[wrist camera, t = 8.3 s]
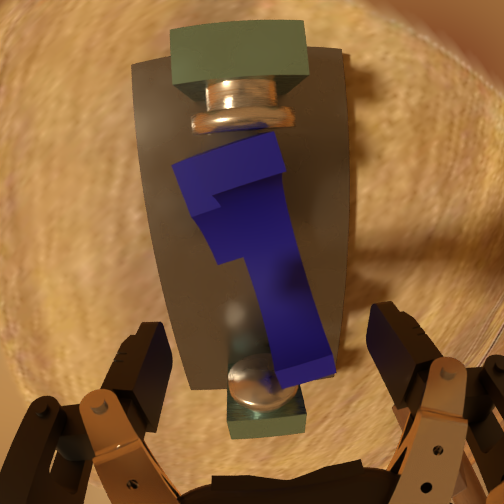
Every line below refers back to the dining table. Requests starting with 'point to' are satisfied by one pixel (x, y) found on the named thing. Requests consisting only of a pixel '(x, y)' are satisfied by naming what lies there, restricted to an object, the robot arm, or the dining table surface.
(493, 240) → the dining table surface
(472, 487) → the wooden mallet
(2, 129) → the dining table surface
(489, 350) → the dining table surface
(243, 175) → the blue curved bracket
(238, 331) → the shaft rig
